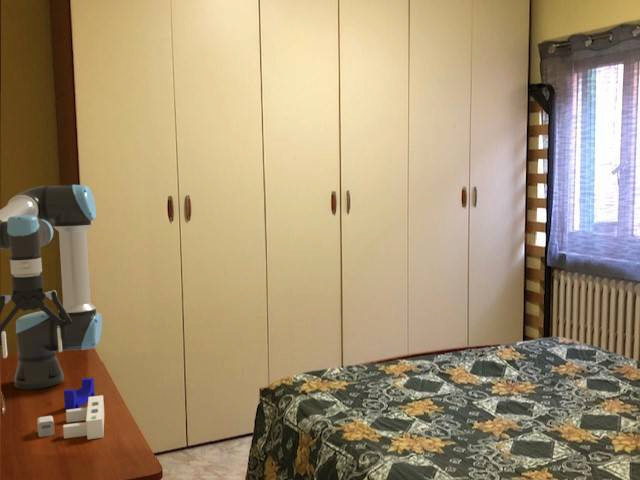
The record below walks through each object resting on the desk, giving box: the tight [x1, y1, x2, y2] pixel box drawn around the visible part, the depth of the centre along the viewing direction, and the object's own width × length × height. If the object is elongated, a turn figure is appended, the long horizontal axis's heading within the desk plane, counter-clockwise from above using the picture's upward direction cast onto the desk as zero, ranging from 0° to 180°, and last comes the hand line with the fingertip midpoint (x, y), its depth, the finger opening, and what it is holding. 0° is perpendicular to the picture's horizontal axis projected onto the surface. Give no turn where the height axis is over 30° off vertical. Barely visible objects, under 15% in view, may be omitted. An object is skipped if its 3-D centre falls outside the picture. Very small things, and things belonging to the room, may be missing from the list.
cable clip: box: [63, 377, 96, 411], centre depth 215 cm, size 12×4×6 cm, turn 169°
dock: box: [62, 394, 105, 440], centre depth 196 cm, size 20×10×5 cm, turn 16°
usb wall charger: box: [36, 415, 55, 438], centre depth 193 cm, size 4×7×4 cm, turn 24°
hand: (33, 353), depth 189 cm, fingers open, 13 cm apart
